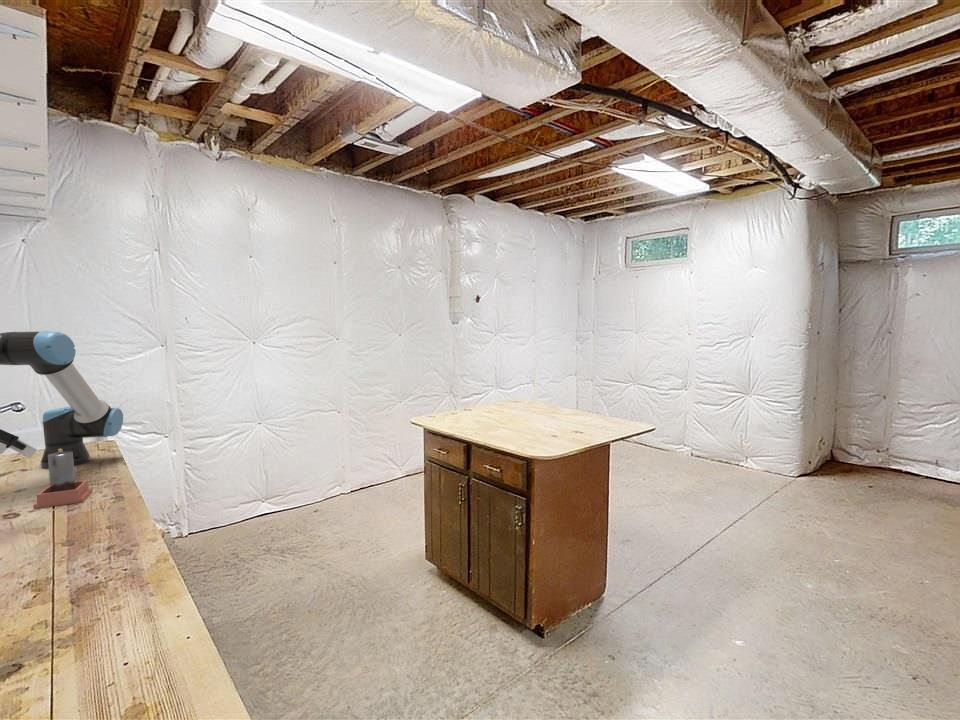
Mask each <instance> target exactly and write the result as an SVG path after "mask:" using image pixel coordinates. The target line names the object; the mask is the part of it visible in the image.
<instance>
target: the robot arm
mask: <svg viewBox="0 0 960 720" xmlns="http://www.w3.org/2000/svg"><path fill="white" fill-rule="evenodd" d="M75 357H76V349H75V343H74V341H73V339H72V338H71V337H70V336H69V335H67V334H66V333H64V332H62V331H61V332H60V331H54V330H53V331H52V330H43V331H7V332H6V331H5V332H0V365H1V366H30V367H31V368H32V369H31V370H33V371H34V373H36V374H37V375H39V376H45V377H46V379H47V380H48V381H49V382H50V384H51V385H52V386H53V387H54V388H55V389H56V392H57V391H58V394H60V395H61V397H62V398H63V399H64V400H65V402H66V403H67V405H69V406H64V407H58V408H55V409H49V410H46V411H45V412H44V413H43V414H42V422H41V424H42V426H43V436H44V450H43V452H42V453H43V454H42V456H41V460H40V468H41V469H44V470H49V464H48V455H49V454H53V453H57V452H58V449H62V452H65V451H71V452H73V461H74V467H75V466H78V465H83V464H85V463H87V462H89V461H91V456H90V452H89V451H88V449H87V447H86V445H85V443H84V439H85V438H107V437H114V436H116V435H118V434H119V432H120V431H121V430H122V427H123V425H124V424H123V423H124V413H123V411H122V409H121V408H119V407H113V408H112V407H111V406H110V405H109V403H108V402H106V401H105V400H102V399H99V397H98V396H97V395H96V393H95V391H93V389H92V388H91V386H90V385H89V384H88V382H87V381H86V380H85V379H84V377H83V376H82V374H81V373H80V372H79V370H78V369H77V368H76V367H75V365H74V361H75V360H74V359H75ZM83 438H84V439H83ZM7 449H11V450H13V451H15V452H17V453H19V454H21V455H23V456H24V457H27V458H31V457H32V456H33V455H34V454H35V453H36V452H37V451H38V449H37V448H35V447H33V446H31V445H29V444H27V443H26V442H24V441H22V440H21V439H20V437H19V436H18V435H15V434H12V433H10V432H8V431H6V430H4V429H1V428H0V455H2V454H3V453H4V452H5V451H6V450H7Z"/></svg>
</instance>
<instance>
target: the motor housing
mask: <svg viewBox="0 0 960 720" xmlns="http://www.w3.org/2000/svg"><path fill="white" fill-rule="evenodd" d="M48 464H49V469H48V476H49V485H50V492H58V491H66V490H74V489H75V482H76V479H75V466H74V461H73V452H71V451H65V452H62V449H58V452H57V453H53V454H49V455H48Z"/></svg>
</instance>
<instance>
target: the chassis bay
mask: <svg viewBox="0 0 960 720" xmlns="http://www.w3.org/2000/svg"><path fill="white" fill-rule="evenodd" d="M92 493H93V488H89V483H88V479H85V480H79V481H75V489H74V490H66V491H58V492H50V484H49V485H47V486H46V487H44V488H43V489H42V490H41V491H40V492H39V493H37V494H36V495H35V497H36V502H35V503H33V504H32V507H33V509H34V510H35V509H43V508H48V507H56V506H63V505H70V504H77V503H83V502H84V501H85V500H86V499H87V498H88V497H89V496H90V495H91V494H92Z"/></svg>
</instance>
